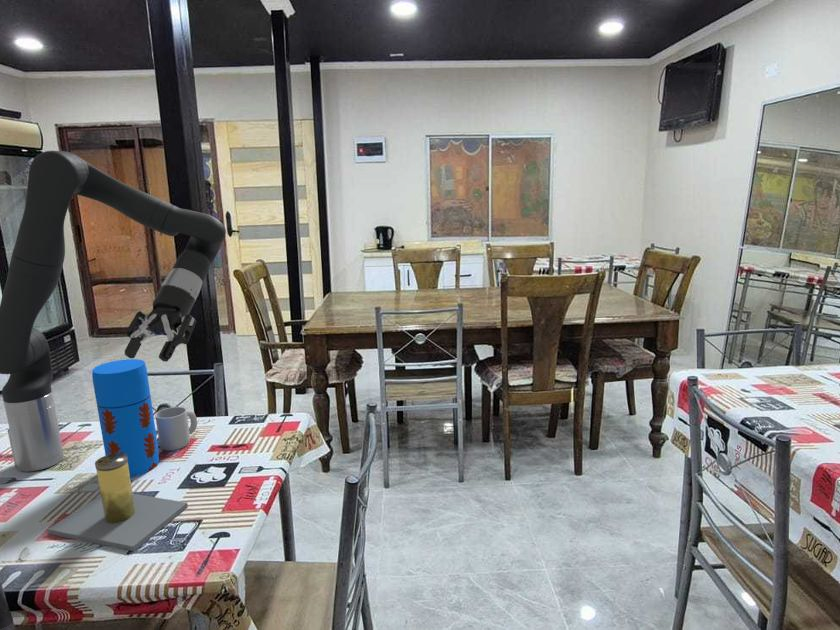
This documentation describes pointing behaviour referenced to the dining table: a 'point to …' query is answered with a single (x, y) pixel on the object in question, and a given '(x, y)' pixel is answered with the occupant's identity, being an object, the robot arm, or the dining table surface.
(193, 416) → the cup
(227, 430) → the dining table surface
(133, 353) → the robot arm
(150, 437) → the thermos
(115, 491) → the canister
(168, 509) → the slate board
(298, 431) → the dining table surface
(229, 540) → the dining table surface
